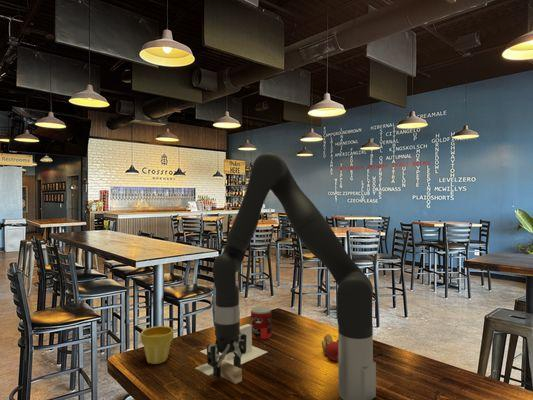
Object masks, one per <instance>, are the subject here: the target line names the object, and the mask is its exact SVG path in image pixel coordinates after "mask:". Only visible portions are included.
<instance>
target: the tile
mask: <svg viewBox="0 0 533 400" xmlns="http://www.w3.org/2000/svg"><path fill="white" fill-rule="evenodd" d="M240 333H243V334H245V335H246V336H247V338H246V353H247V352H250V351H252V346H253V344H252V343H253V338H252V325H251V323H250V324H249V323H246V324H244V325H240ZM237 345H238V343H237ZM234 356H235V355H234V354H233V352H232V353H229V354H227V355H226V358H228V359H230V360H231V359H233V358H234Z"/></svg>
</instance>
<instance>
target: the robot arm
mask: <svg viewBox="0 0 533 400" xmlns="http://www.w3.org/2000/svg"><path fill="white" fill-rule="evenodd" d="M287 165H288V164H287V163H286V162H285V160H284V159H283V158H281V157H280V156H278V155H277V154H275V153H273V152H264V153H261V154H259V155H258V156H257V157H256V159H255V160H254V162H253V164H252V167H251V171H250V176H249V180H248V183H247V187H246V189H245V192H244V196H243V197H242V198H243V199H242V201H241V205H240V206H239V209H238V211H237V214H236V215H235V218H234V221H233V222H232V225H231V227H230V229H229V232H228V234H227V236H226V244H225V246H224V249H223V251H222V253H221V254H219V255H218V256H216V258H215V259H214V261H213V265H212V277H213V283H214V287H215V306H214V307H215V309H214V336H215V341H214V343H213V344H210V343H207V345H206V349H207V355H206V362H207V364H208V365H210V366H212V367H213V374H212V376H213V377H214V378H215V379H217V380H220V379H222V377H221V366H220V365H221V363H222V360H223V359H224V358H225V356H226V355H227V354H229V353H232V352H233V354H234V355H235V356H234V366H236V367H238V368H240V369H241V365H242V364H241V357H242V355H243V354H245V353H246V338H247V336H246V335H245V334H243V333H240V326H241V322H240V321H241V318H240V317H241V314H240V313H241V312H240V311H241V310H240V294H239V293H240V292H239V287H238V285H237V279H236V278H237V277H236V274H237V273H238V271H239V270H240V268H241V267H242V264H243V262H244V259H245V255H246V252H247V249H248V247H249V245H250V244H251V242H252V239H253V236H254V234H255V232H256V230H257V228H258V225H259V221H260V217H261V213H262V209H263V205H264V203H265V200H266V198H267V196H268V194H269V193H270V192H272V193H273V194H274V196H275V197H276V198H277V200H278V201H279V202H280V204H281V205H282V207H283V210H284V212H285V216H286V218H287V219H288V223H289V224H290V226H291V228H292V229H293V231H294V232H295V234H296V235H297V237H298V238H299V240H300V241H301V242H302V244H303V246H305V248H306V249H307V250H308V251H310V253H311V254H313V256H314V257H315V258H316V259H317V260H319V262H320V263H322V264H323V265H324V266H325V268H327V270H328V272H329V273H330V275H332V278H333V279H334V281H335V283H336V284H337V291H336V320H337V326H338V327H337V329H338V331H337V332H338V333H337V334H338V336H337V338H338V339H337V340H338V361H337V362H338V363H337V364H338V365H337V366H338V367H337V368H338V369H337V370H338V375H337V376H338V377H337V378H338V384H337V385H338V396H339V397H340V398H341V399H342V400H373V399H374V398H376V397H377V374H376V373H377V363H376V361H374V356H373V355H374V354H373V353H374V352H373V350H374V349H373V348H374V347H373V346H374V344H373V342H374V339H373V337H374V335H373V333H374V332H373V330H374V327H373V294H374V293H373V292H374V288H373V284H372V281H371V279H370V278H369V277H368V276H367V275H366V273H364V272H363V270H362V269H361V268H360V267H359V266H358V265H357V264H356V262H355V261H354V260H353V259H352V258H351V257H350V256H349V254H348V252H347V251H346V249H345V248H344V246H343V245H342V243H341V241H340V239H339V238H338V236H337V234H335V231H334V230H333V228H332V226H330V224H329V223H328V221H327V220H326V218H325V217H324V216H323V214H322V213H321V212H320V210H319V209H318V208H317V206H316V205H315V204H314V203H313V202H312V201H311V199H310V198H309V197H308V196H307V195H306V194H305V193H304V191H302V189H301V188H300V186H299V185H298V183H297V181H296V180H295V178H294V176H293V174H292V173H291V170H290V169H289V168H288V166H287ZM237 343H238V345H237ZM216 348H217V349H216ZM219 352H220V353H222V355H219ZM218 358H219V359H218ZM217 360H218V362H217Z"/></svg>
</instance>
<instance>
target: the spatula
mask: <svg viewBox="0 0 533 400" xmlns="http://www.w3.org/2000/svg"><path fill="white" fill-rule="evenodd" d="M217 362H218V360H217ZM220 366H221V378H223V379H225V380H227V381H229V382H231V383H233V384H234V385H236V384H238V383H240V382H242V381H243V369H242V368H241V367H240V368H238V367H236V366H234V365H232V364H230V363H228V362H225V361H223V360H222V363H221V365H220ZM195 370H198V371H200V372H202V373H203V374H205V375H207V376H208V377H209V376H211V375H213V367H212V366H210V365H208V364H207V363H203V364H202V365H201V364H200V365H199V366H197V367H195Z"/></svg>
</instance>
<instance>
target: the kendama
mask: <svg viewBox="0 0 533 400" xmlns="http://www.w3.org/2000/svg"><path fill="white" fill-rule="evenodd" d="M321 347H322V352H323V355H324V356H327V357H328V359H329V360H332V361H335V362H338V339H336V340H335V341H334V340H333V337H332V335H331V334H325V335H324V338H323V340H321Z"/></svg>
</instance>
